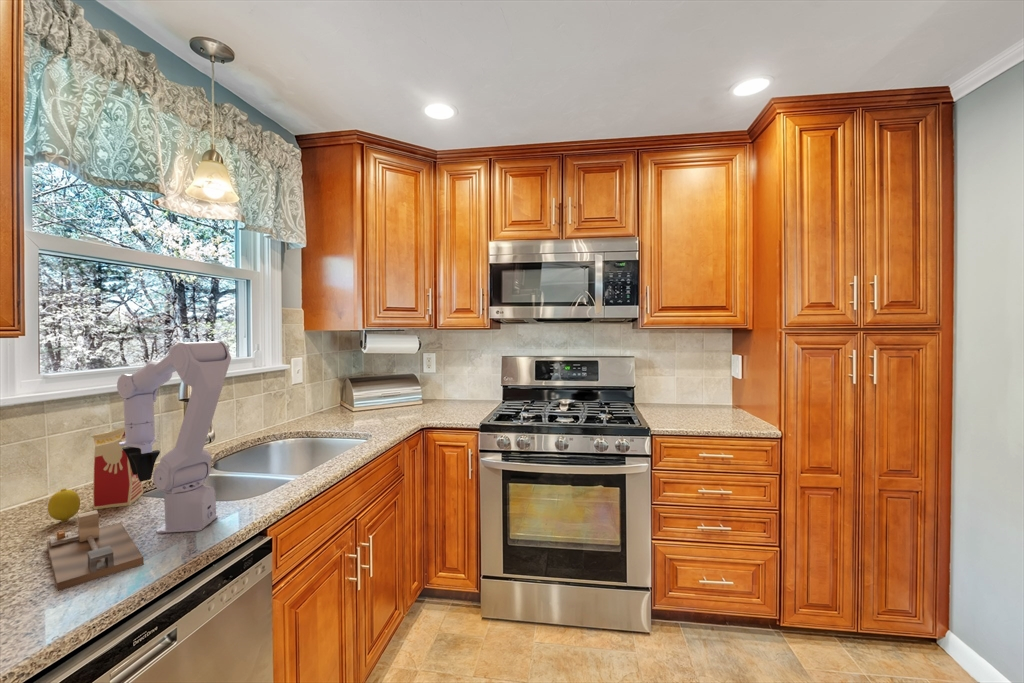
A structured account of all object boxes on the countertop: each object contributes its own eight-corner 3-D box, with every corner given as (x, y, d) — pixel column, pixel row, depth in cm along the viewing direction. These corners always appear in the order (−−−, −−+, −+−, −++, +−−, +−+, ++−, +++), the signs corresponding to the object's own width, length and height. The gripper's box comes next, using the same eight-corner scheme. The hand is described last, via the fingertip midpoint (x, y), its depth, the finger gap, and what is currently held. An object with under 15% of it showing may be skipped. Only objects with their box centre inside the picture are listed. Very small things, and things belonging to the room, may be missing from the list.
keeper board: (47, 548, 97) (46, 528, 96) (121, 528, 105) (120, 511, 105) (57, 591, 81) (56, 568, 80) (143, 564, 90) (142, 543, 89)
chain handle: (49, 540, 96) (48, 515, 96) (95, 528, 102) (94, 505, 101) (57, 570, 84) (56, 542, 84) (108, 555, 90) (107, 529, 89)
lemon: (60, 527, 106) (59, 493, 106) (42, 525, 108) (40, 492, 107) (87, 517, 112) (85, 485, 112) (69, 516, 113) (67, 484, 113)
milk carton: (143, 493, 128) (140, 422, 127) (131, 505, 120) (128, 429, 119) (101, 498, 124) (98, 425, 124) (86, 511, 116) (82, 432, 115)
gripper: (113, 421, 114) (115, 474, 115) (124, 429, 105) (126, 488, 105) (148, 416, 120) (150, 468, 120) (162, 424, 110) (164, 480, 111)
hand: (141, 477), depth 113 cm, fingers open, 7 cm apart
